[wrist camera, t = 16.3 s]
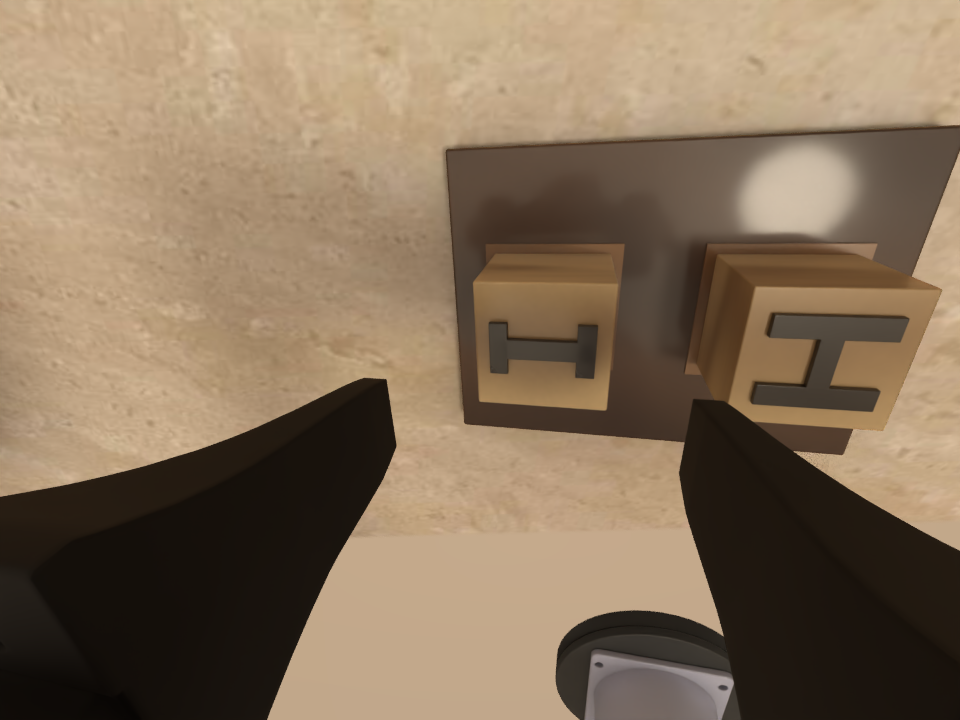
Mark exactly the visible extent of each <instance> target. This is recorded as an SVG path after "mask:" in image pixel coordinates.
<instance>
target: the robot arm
mask: <svg viewBox="0 0 960 720" xmlns="http://www.w3.org/2000/svg"><path fill="white" fill-rule="evenodd" d="M395 449H396V439H395V432H394V426H393V419H392V413H391V406H390V400H389V393H388V386H387V380H386V379H373V378H363V379H360V380H357V381H354V382H352V383H350V384H347V385H345V386H343V387H341V388H339V389H337V390H335V391H333V392H331V393H329V394H326V395H324V396H322V397H320V398H318V399H316V400H314V401H312V402H310V403H308V404H306V405H304V406H302V407H300V408H298V409H296V410H294V411H292V412H290V413H287V414H285V415H283V416H281V417H279V418H276V419H274V420H272V421H270V422H268V423H265V424H263V425H261V426H259V427H256V428H254V429H252V430H250V431H247V432H245V433H242V434H240V435H237V436H235V437H232V438H230V439H227V440H224V441H222V442H219V443H216V444H213V445H211V446H208V447H205V448H202V449H199V450H196V451H193V452H190V453H187V454H183V455H180V456H177V457H173V458H170V459H167V460H164V461H160V462H157V463H154V464H150V465H147V466H144V467H140V468H136V469H132V470H128V471H124V472H120V473H116V474H113V475H108V476H104V477H100V478H95V479H91V480H86V481H82V482H78V483H73V484H68V485H63V486H58V487H53V488H47V489H42V490H36V491H31V492H25V493H20V494H14V495H8V496H3V497H0V720H267V718H268V715H269V713H270V710H271V708H272V705H273V703H274V700H275V697H276V695H277V692H278V690H279V687H280V685H281V682H282V680H283V677H284V675H285V672H286V670H287V667H288V665H289V662H290V660H291V657H292V655H293V653H294V650H295V648H296V646H297V643H298V641H299V638H300V636H301V634H302V632H303V629H304V627H305V625H306V622H307V620H308V618H309V615H310V613H311V611H312V609H313V606H314V604H315V602H316V600H317V598H318V596H319V593H320V591H321V589H322V587H323V585H324V583H325V580H326V578H327V576H328V574H329V572H330V570H331V568H332V566H333V564H334V563H335V560H336V559H337V557H338V555H339V553H340V552H341V550H342V548H343V546H344V545H345V543H346V541H347V540H348V538H349V536H350V535H351V533H352V531H353V530H354V528H355V526H356V525H357V523H358V521H359V520H360V518H361V516H362V515H363V513H364V511H365V510H366V508H367V506H368V505H369V503H370V501H371V499H372V498H373V496H374V494H375V492H376V491H377V489H378V487H379V486H380V484H381V482H382V480H383V478H384V476H385V473H386V471H387V469H388V466H389V464H390V462H391V459H392V456H393V454H394V451H395ZM679 476H680V482H681V488H682V494H683V500H684V505H685V511H686V515H687V518H688V522H689V525H690V528H691V531H692V535H693V538H694V541H695V544H696V547H697V550H698V553H699V557H700V560H701V563H702V566H703V569H704V572H705V575H706V578H707V581H708V584H709V588H710V591H711V594H712V597H713V600H714V603H715V606H716V609H717V613H718V616H719V620H720V624H721V627H722V631H723V635H724V639H725V644H726V648H727V653H728V658H729V662H730V667H731V672H732V675H731V674H730V673H729V672H726V671H722V670H716V669H711V668H705V667H699V666H694V665H688V664H682V663H677V662H671V661H665V660H660V659H654V658H648V657H643V656H637V655H631V654H625V653H620V652H614V651H608V650H603V649H594V650H593V651H592V652H591V659H590V669H589V678H588V688H587V697H586V707H585V716H584V720H721V719H722V716H723V713H724V711H725V708H726V705H727V702H728V699H729V696H730V693H731V690H732V688H733V685H734V686H735V691H736V696H737V701H738V706H739V711H740V717H741V720H960V551H959V550H957V549H955V548H953V547H951V546H949V545H947V544H945V543H943V542H941V541H939V540H937V539H935V538H934V537H931V536H930V535H928V534H926V533H924V532H922V531H920V530H918V529H917V528H915V527H913V526H911V525H909V524H908V523H906V522H904V521H902V520H901V519H899V518H897V517H895V516H894V515H892V514H890V513H888V512H887V511H885V510H883V509H881V508H880V507H878V506H876V505H874V504H873V503H871V502H869V501H868V500H866V499H864V498H863V497H861V496H859V495H858V494H856V493H854V492H853V491H851V490H850V489H848V488H846V487H845V486H843V485H842V484H840V483H839V482H837V481H836V480H834V479H833V478H831V477H830V476H828V475H827V474H825V473H824V472H822V471H821V470H819V469H817V468H816V467H815V466H813V465H812V464H810V463H809V462H807V461H806V460H805V459H803V458H802V457H800V456H799V455H797V454H796V453H795V452H793V451H792V450H790V449H789V448H788V447H786V446H785V445H784V444H782V443H781V442H779V441H778V440H777V439H775V438H774V437H773V436H771V435H770V434H769V433H767V432H766V431H765V430H763V429H762V428H761V427H759V426H758V425H757V424H755V423H754V422H753V421H751V420H750V419H749V418H748V417H746V416H745V415H743V414H742V413H741V412H739V411H738V410H737V409H735V408H734V407H732V406H731V405H730V404H728V403H726V402H725V401H720V400H704V399H693V402H692V408H691V413H690V418H689V423H688V429H687V434H686V439H685V444H684V450H683V455H682V460H681V465H680V471H679Z"/></svg>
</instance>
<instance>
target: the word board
mask: <svg viewBox="0 0 960 720" xmlns="http://www.w3.org/2000/svg"><path fill="white" fill-rule="evenodd" d="M959 152H960V125H951V126H929V127H908V128H886V129H865V130H844V131H822V132H801V133H780V134H758V135H737V136H716V137H694V138H673V139H652V140H630V141H609V142H588V143H566V144H545V145H523V146H502V147H481V148H459V149H447V150H446V164H447V178H448V193H449V207H450V222H451V236H452V251H453V265H454V280H455V294H456V309H457V323H458V337H459V352H460V366H461V381H462V395H463V410H464V423H465V424H470V425H482V426H494V427H507V428H519V429H531V430H543V431H555V432H568V433H580V434H592V435H604V436H616V437H629V438H641V439H653V440H665V441H677V442H685V439H686V434H687V429H688V423H689V418H690V413H691V408H692V402H693V399H704V400H714V398H713V396H712V394H711V392H710V390H709V388H708V386H707V384H706V382H705V380H704V378H703V376H702V374H701V372H700V370H699V368H698V366H697V359H698V354H699V349H700V343H701V338H702V333H703V327H704V322H705V316H706V311H707V306H708V300H709V295H710V290H711V284H712V279H713V274H714V268H715V263H716V258H717V255H718V254H814V255H860V256H863V257H865V258H868V259H870V260H872V261H875V262H877V263H880V264H882V265H885V266H887V267H889V268H892V269H894V270H897V271H899V272H901V273H904V274H906V275H909V276H911V277H912V274H913V272H914V269H915V266H916V264H917V261H918V259H919V256H920V253H921V251H922V248H923V245H924V243H925V240H926V238H927V235H928V232H929V230H930V227H931V225H932V222H933V219H934V217H935V214H936V212H937V209H938V206H939V204H940V201H941V199H942V196H943V193H944V191H945V188H946V185H947V183H948V180H949V178H950V175H951V172H952V170H953V167H954V165H955V162H956V159H957V157H958V154H959ZM495 254H611V257H612V261H613V265H614V269H615V273H616V277H617V281H618V296H617V307H616V317H615V328H614V339H613V349H612V360H611V370H610V381H609V392H608V402H607V409H606V410H605V411H604V410H590V409H576V408H562V407H547V406H533V405H519V404H505V403H491V402H480V401H479V392H478V372H477V353H476V333H475V313H474V294H473V282H474V280H475V279H476V278H477V277H478V275H479V274H480V273H481V271H482V270H483V269H484V268H485V266H486V265H487V264H488V262H489V261H490V260H491V259H492V257H493V256H494V255H495ZM754 423H755V424H757V425H758V426H759V427H761V428H762V429H763V430H765V431H766V432H767V433H769V434H770V435H771V436H773V437H774V438H775V439H777V440H778V441H779V442H781V443H782V444H784V445H785V446H786V447H788V448H789V449H790V450H792V451H799V452H812V453H824V454H836V455H843V454H844V452H845V449H846V446H847V444H848V441H849V439H850V436H851V433H852V431H853V429H849V428H835V427H821V426H807V425H793V424H779V423H765V422H754Z"/></svg>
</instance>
